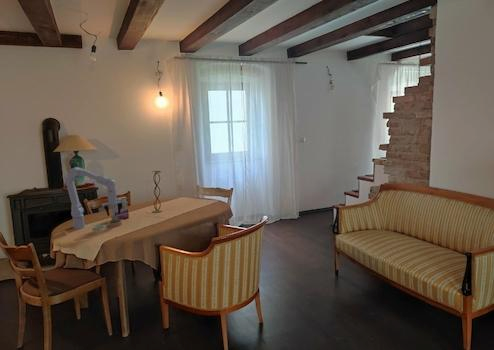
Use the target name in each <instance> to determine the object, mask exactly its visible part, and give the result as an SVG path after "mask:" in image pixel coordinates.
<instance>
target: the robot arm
mask: <svg viewBox="0 0 494 350" xmlns="http://www.w3.org/2000/svg"><path fill="white" fill-rule="evenodd" d="M78 177H87V178H90V179H93V180H95V182H96V183H98V184H100V185H101V186H105V187H106V188H107V191H106V192H107V199H108V200H107V202H104V203H101V207H102V208H103V209H104V211H105V212H106V214H107V217H108V216H109V217H110V211H109V206H112V205H116V204H117V206H118V214H120V211H121V208H122V204H123V201H117V198H118V197H117V189H116V185H117V182H116V180H115V179H114V178H110V177H106V176H105V175H103V174H98V175H97V174H96V173H93V172H91V171H88V170H86V169H84V168H82V167H79V166H75V167H72V168H70V169H69V170H68V171H67V175H66V177H65V184H66V188H67V192H68V196H69V200H70V203H71V207H70V209H71V211H70V215H71V217H72V223H73V225H72V226H73V229H74V230H81V229H85V227H86V225H85V216H84V212H85V209H84V207H83V206H82V203H81V202H80V199H79V196H78V191H77V188H76V184H75V180H76V179H77V178H78Z"/></svg>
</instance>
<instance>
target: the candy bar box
mask: <svg viewBox="0 0 494 350" xmlns="http://www.w3.org/2000/svg"><path fill="white" fill-rule="evenodd" d="M117 201H123V204H122V208H121V211H120V214H118V206H117V204H116V205H111V213H112V217H115V216H117V218H118V220H125V219H129V218H130V214H129V207H128V197H125V196H122V197H117Z"/></svg>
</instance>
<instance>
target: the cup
mask: <svg viewBox="0 0 494 350" xmlns="http://www.w3.org/2000/svg"><path fill="white" fill-rule="evenodd" d="M122 220H123V219H119V220H118V222H116V223H112V219H111V220H109V221H107V228H108V227H109V228H116V227H120V226H122V225H123V221H122Z"/></svg>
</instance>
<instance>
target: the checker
mask: <svg viewBox="0 0 494 350" xmlns="http://www.w3.org/2000/svg"><path fill="white" fill-rule="evenodd" d="M104 229H106V230H107V229H108V226H106V224H98V225H97V224H96V225H94V226H93V227H90V230H91V231H93V232H95V231H101V230H104Z"/></svg>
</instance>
